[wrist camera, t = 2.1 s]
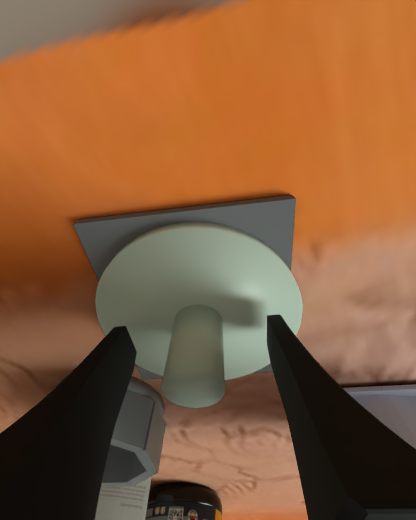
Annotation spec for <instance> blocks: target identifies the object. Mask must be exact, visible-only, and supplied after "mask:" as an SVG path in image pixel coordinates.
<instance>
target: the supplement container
mask: <svg viewBox="0 0 416 520" xmlns="http://www.w3.org/2000/svg"><path fill="white" fill-rule="evenodd" d="M145 520H222V504H221V501H220V498H219V497H218V496H217V494H216V493H215V492H213V491H212V490H210V489H208V488H206V487H203V486H199V485H195V484H187V483H170V484H164V485H159V486H156V487H154V488H153V489H151V490H150V491H149V496H148V503H147V510H146V517H145Z"/></svg>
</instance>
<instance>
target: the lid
mask: <svg viewBox="0 0 416 520" xmlns="http://www.w3.org/2000/svg"><path fill="white" fill-rule="evenodd" d="M95 306H96V314H97V318H98V321H99V324H100V326H101V329H102V331H103V332H104V334H105V336H106V335H107V334H108V333H109V332H110V331H111V330H112V329H113V328H114V327H119V326H126V328H127V330H128V332H129V335H130V337H131V339H132V342H133V344H134V346H135V349H136V351H137V354H136V360H135V364H136V365H138V366H140V367H142V368H144V369H146V370H148V371H150V372H153V373H155V374H158V375H161V376H163V379H162V384H161V392H162V394H163V395H164V397H165V398H166V399H167V400H169V401H170V402H172V403H174V404H176V405H179V406H183V407H189V408H202V407H207V406H211V405H214V404H216V403H217V402H219V401H220V400H221V399H222V398H223V397H224V395H225V380H230V379H235V378H239V377H242V376H245V375H248V374H251V373H253V372H255V371H258V370H260V369H262V368H263V367H265V366H267V365H269V364H270V358H269V353H268V347H267V315H278V314H280V315H281V316H282V317H283V319H284V320H285V322H286V323H287V325H288V326H289V328H290V329H291V330H292V332H293V333H294V334H295V336H296V335H297V332H298V330H299V327H300V324H301V319H302V309H303V304H302V298H301V293H300V290H299V288H298V285H297V283H296V281H295V279H294V277H293V275H292V273H291V271H290V269H289V268H288V266H287V264H286V263H285V262H284V260H283V259H282V258H281V257H280V255H279V254H278V253H277V252H275V251H274V250H273V249H272V248H271V247H270V246H269V245H267V244H266V243H264V242H263V241H261V240H260V239H259V238H257V237H255V236H253V235H251V234H249V233H247V232H245V231H242V230H239V229H236V228H233V227H230V226H226V225H221V224H217V223H208V222H182V223H176V224H170V225H166V226H162V227H159V228H156V229H153V230H151V231H148V232H146V233H144V234H142V235H140V236H138V237H137V238H135V239H134V240H132V241H131V242H129V243H128V244H127V245H126V246H125V247H123V248H122V249H121V250H120V251H119V252H118V253H117V255H116V256H115V257H114V259H113V260H112V261H111V262H110V264H109V265H108V266H107V268H106V269H105V271H104V273H103V274H102V276H101V278H100V280H99V284H98V287H97V290H96V298H95Z"/></svg>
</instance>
